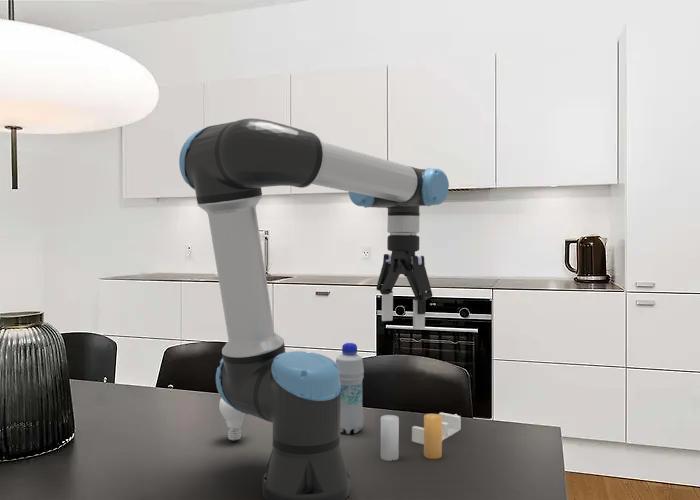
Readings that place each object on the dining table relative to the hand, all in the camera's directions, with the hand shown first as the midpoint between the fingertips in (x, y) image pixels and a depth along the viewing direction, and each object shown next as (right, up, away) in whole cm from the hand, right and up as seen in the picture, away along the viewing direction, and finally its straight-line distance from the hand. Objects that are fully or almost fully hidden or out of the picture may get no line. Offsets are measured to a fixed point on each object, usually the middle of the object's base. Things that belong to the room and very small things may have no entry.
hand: (402, 324), depth 143 cm
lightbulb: (-37, -24, -12) cm, 46 cm away
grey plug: (-4, -24, -22) cm, 33 cm away
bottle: (-13, -24, -6) cm, 27 cm away
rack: (+7, -24, -9) cm, 26 cm away
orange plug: (+4, -24, -21) cm, 32 cm away
